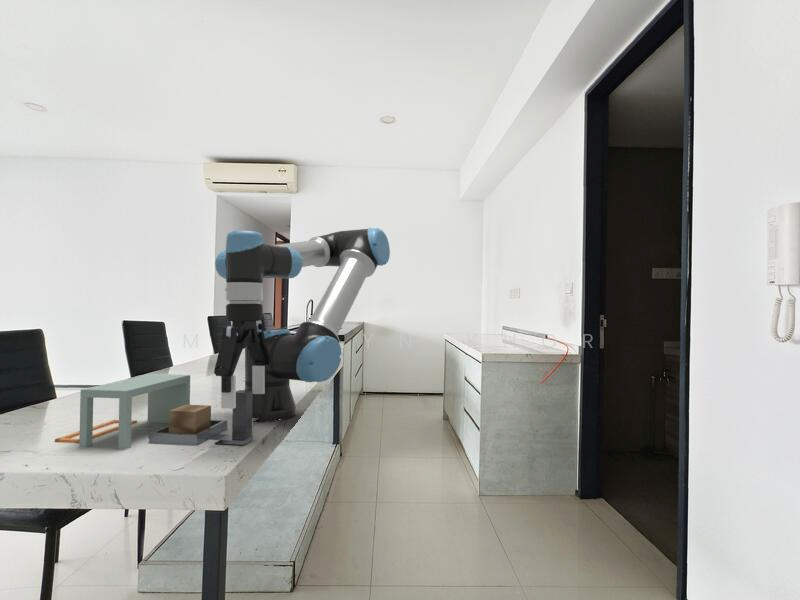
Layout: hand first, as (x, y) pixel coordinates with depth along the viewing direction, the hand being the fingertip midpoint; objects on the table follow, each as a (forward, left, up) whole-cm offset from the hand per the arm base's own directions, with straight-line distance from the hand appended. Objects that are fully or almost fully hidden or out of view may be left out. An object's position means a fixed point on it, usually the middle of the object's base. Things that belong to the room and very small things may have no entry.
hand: (244, 400), depth 93 cm
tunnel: (+24, 0, -9) cm, 26 cm away
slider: (+8, 0, -9) cm, 12 cm away
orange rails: (+34, 0, -9) cm, 35 cm away
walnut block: (+12, 0, -8) cm, 15 cm away
